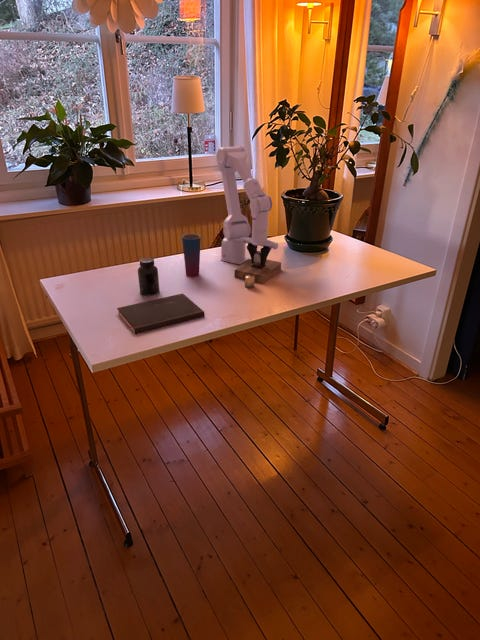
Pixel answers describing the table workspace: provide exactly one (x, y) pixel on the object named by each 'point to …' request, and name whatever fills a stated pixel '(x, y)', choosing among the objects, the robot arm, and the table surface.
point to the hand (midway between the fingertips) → (258, 263)
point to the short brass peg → (249, 281)
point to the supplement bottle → (148, 277)
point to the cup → (191, 253)
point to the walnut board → (258, 270)
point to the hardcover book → (160, 313)
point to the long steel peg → (257, 260)
